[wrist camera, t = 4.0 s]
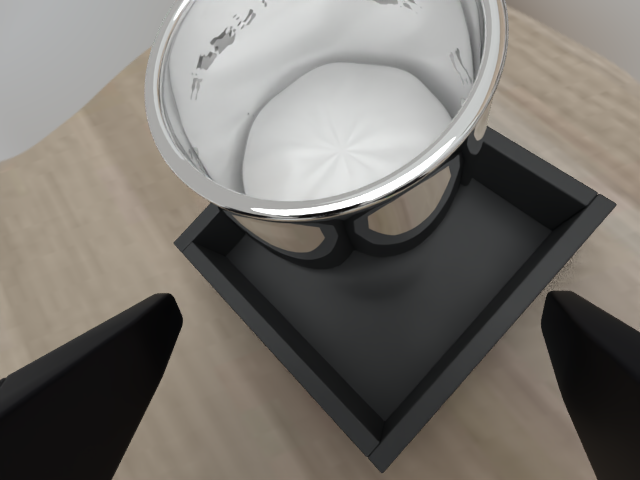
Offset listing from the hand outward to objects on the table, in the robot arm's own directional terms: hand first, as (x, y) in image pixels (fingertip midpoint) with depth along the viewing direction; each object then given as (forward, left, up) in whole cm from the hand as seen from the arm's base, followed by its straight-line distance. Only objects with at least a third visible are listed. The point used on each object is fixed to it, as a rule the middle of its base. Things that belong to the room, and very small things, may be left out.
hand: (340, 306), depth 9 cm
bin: (+3, -3, -12) cm, 12 cm away
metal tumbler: (+3, -3, -11) cm, 12 cm away
